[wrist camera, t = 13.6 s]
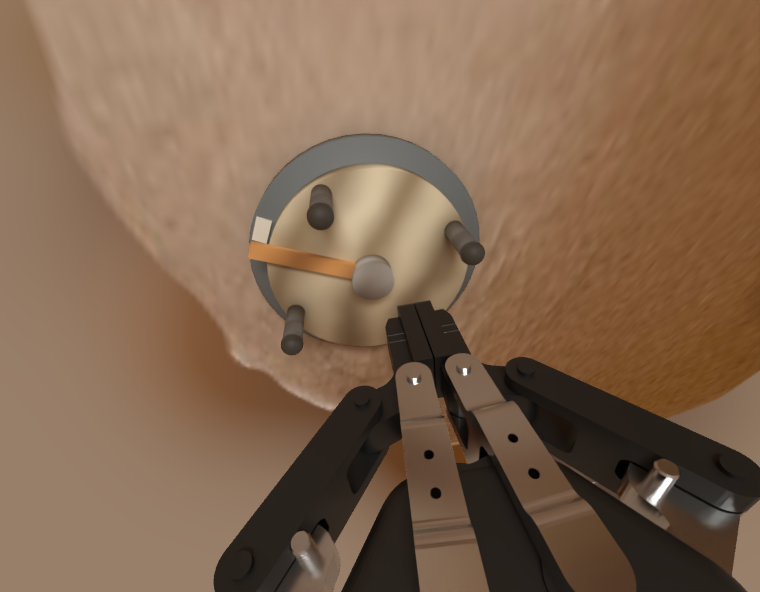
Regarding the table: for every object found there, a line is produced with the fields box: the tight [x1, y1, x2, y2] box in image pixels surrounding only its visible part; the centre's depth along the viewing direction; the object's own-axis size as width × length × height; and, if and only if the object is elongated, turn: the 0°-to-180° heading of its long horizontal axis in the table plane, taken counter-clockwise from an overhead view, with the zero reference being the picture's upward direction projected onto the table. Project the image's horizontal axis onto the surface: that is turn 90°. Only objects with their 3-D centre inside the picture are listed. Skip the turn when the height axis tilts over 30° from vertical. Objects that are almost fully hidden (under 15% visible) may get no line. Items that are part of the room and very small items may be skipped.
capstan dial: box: [248, 163, 485, 355], centre depth 32 cm, size 22×20×8 cm
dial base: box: [249, 134, 479, 343], centre depth 36 cm, size 24×24×2 cm
